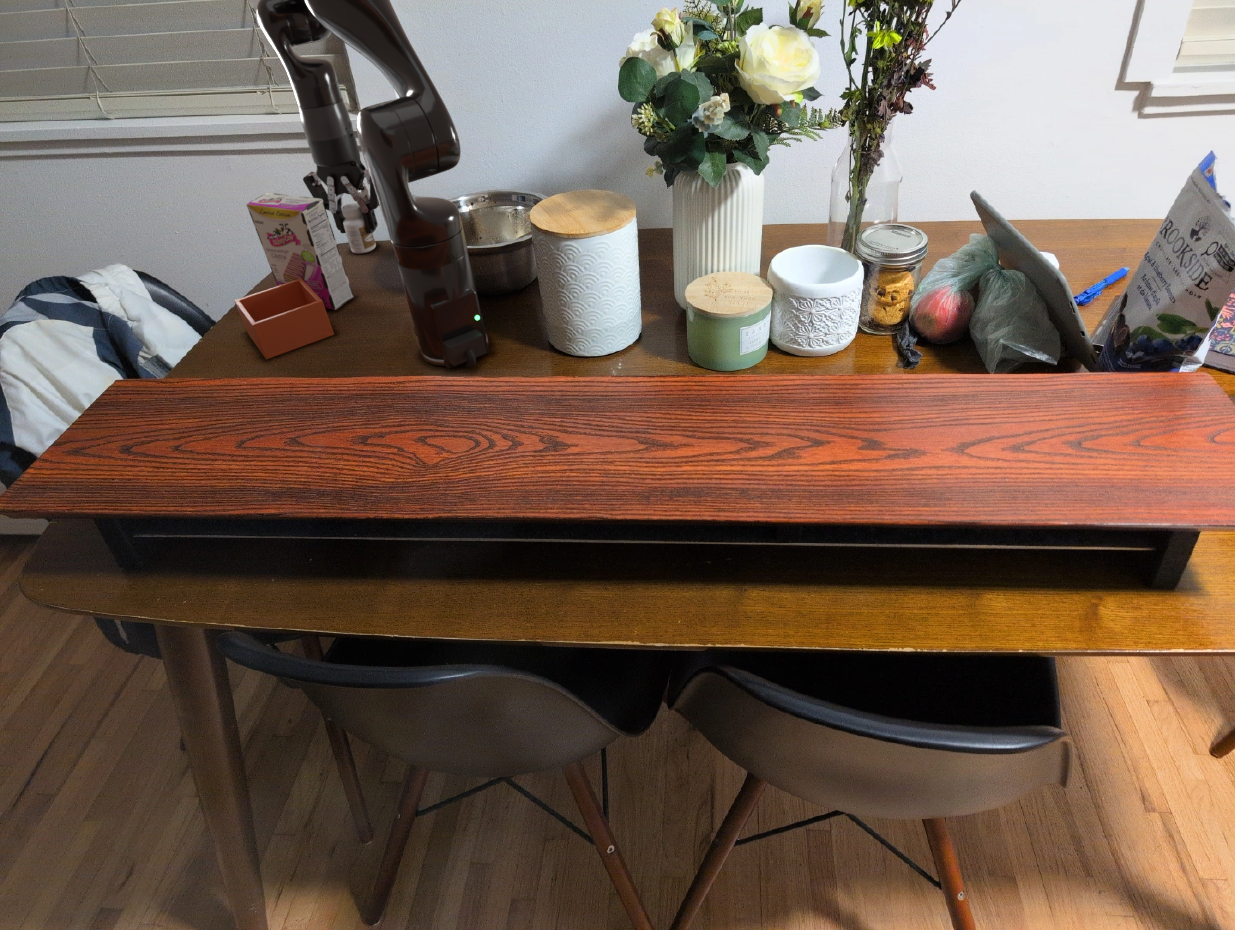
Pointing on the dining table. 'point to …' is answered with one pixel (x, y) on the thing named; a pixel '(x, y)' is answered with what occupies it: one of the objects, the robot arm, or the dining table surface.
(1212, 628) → the dining table surface
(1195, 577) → the dining table surface
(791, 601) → the dining table surface
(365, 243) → the pill bottle
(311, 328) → the bin
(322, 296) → the candy bar box
